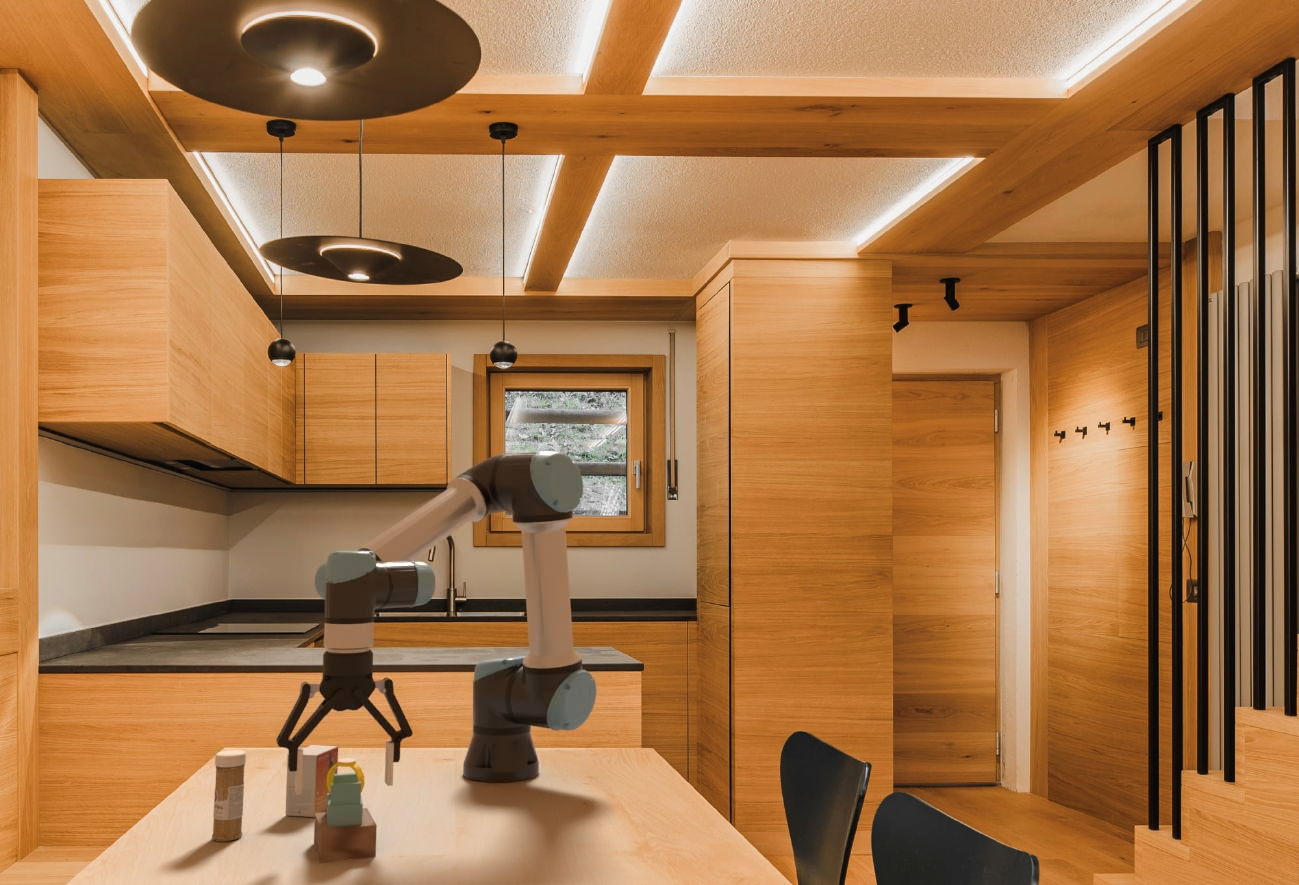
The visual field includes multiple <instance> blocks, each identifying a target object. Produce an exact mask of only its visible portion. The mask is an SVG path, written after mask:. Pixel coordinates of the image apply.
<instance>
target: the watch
mask: <svg viewBox="0 0 1299 885" xmlns="http://www.w3.org/2000/svg"><path fill="white" fill-rule="evenodd" d="M356 762H357V760H356V759H355V758H350V757H349V758H348V757H347V758H345V757H343V758H338V761H337V764H335V765H333V766H332V767H331V769H330V770H329V772H328V775H327V787H328V790H329V792H330V794H331V784H334V783H333V778H334V773H335V771H336V769H337V767H344V768H345V767H346V768H347V767H349V768H351V770H353V771H354V773H356V775H357V777H358V782H361V793H362V792H363V790H364V787H365V775H364V774H365V773H364V771H363V769H362V768H361V766H360V765H359V764H357V763H356ZM337 770H338V769H337Z"/></svg>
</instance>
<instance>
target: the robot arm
mask: <svg viewBox="0 0 1299 885" xmlns="http://www.w3.org/2000/svg"><path fill="white" fill-rule="evenodd" d="M583 494H584V482H583V477H582V474H581V471H580V469H579V467H578V465H577V463H576V462H575V461H573V460H572V458H571V457H570V456H568V455H567V454H566V453H564V452H560V451H548V450H541V451H530V452H514V453H513V452H512V453H511V452H509V453H508V452H507V453H499V454H496V455H493V456H491V457H488V458H486V459H484V460H482V461H481V462H478V463H477V464H475V465H473V466H471V467H470V468H468V469H467V470H465V471H464V472H462V473H460V474H459V475H457V476H456V477H454V478H453V479H452V480H450V481H449V483H448V484H447V486H446V490H445V491H443V492H441V493H440V494H438V495H437V496H436V497H434V498H432V499H431V500H429V501H428V502H426V503H425V504H424V505H423V506H421V507H419V508H418V509H416V510H415V511H413V512H412V513H411V514H409V515H407V516H405V518H402V520H401V521H399V522H397V523H396V524H394V525H393V526H391V527H390V528H388V529H387V530H386V531H384V532H382V533H381V534H380V535H378V536H377V537H375V538H374V539H372V540H371V541H369V542H368V543H366V544H365V545H363V546H362V547H360V548H359V549H357V550H335V551H332V552H331V553H329V554H328V555H327V560H326V561H324V562H323V563H321V564H320V565H319V567H318V568H317V571H316V572H315V576H314V587H315V590H316V592H317V595H318V596H319V597H320V598H322V600H324V634H323V647H324V648H325V649H326V651H325V652H324V653H323V656H322V679H321V681H320V683H309V682H308V681H303V682H301V685H300V689H299V696H298V698H297V700H296V702H295V704H294V706H293V707H292V710H291V711H290V714H288V716H287V719H286V721H285V722H284V725H283V726H282V728H281V729H280V731H279V734H278V735H277V737H276V744H277V746H278V747H280V748H284V749H287V750H288V754H287V759H288V768H289V770H290V772H292V771H295V792H296V795H300V794H302V770H303V749H304V748H303V747H302V746H301V745H302V744H303V743H304V741H306V740H307V738H308V737H309V736H310V735H311V734H312V732H313V731H314V730H315V728H316V727H317V726H318V725H319V724H320V723H321V722H322V721H323V719H324V718H325V717H326V716H327V715H328V714H329V713H330V712H331V711H332V710H333V711H336V712H343V711H347V710H348V711H358V710H359V709H361V708H362V707H364V709H365V710H366V711H367V712H368V713H369V714H370V715H371V716H372V717H373V719H374V720H375V721H376V723H378V725H379V726H380V727H381V728H382V729H383V730H384V731H385V733H386V734H387V735H388V736H389V737H390V739H386V740H385V762H384V763H385V764H384V765H385V766H384V767H385V768H384V783H385V784H386V785H387V786H388V787H389V786H390V787H391V786H394V784H393V783H394V763H399V762H400V760H401V743H402V741H403V740H404V739H406V738H410V737H411V736H413V733H414V732H413V730H412V727H411V725H410V723H409V722H408V720H407V718H406V715H405V713H404V711H403V709H402V707H401V705H400V703H399V701H398V699H397V697H396V694H395V691H394V682H393V680H392V679H390V678H389V677H387V676H386V677H384V678H383V679H380V680H374V678H373V677H374V676H373V671H374V670H373V668H374V667H373V666H374V652H373V651H372V650H371V649H370V648H372V647H374V639H375V638H374V634H375V632H374V628H375V627H374V624H375V610H380V609H393V608H397V609H398V608H414V607H418V606H422V605H426V604H427V603H428V602H430V601H431V599H432V598H433V596H434V595H435V591H436V575H435V572H434V570H433V569H432V567H431V566H430V565H429V564H427V563H426V562H424V561H417V560H418V559H420V557H422V556H424V555H425V554H426V553H427V552H429V551H431V550H432V549H433V548H434V547H436V546H437V545H438V544H440V543H441V542H442V541H444V540H446V538H448V537H450V536H451V535H452V534H454V533H455V532H457V531H458V530H460V528H462V527H463V526H465V525H467V524H468V523H469V522H471V523H473V522H474V523H477V522H480V521H481V520H482V519H483V518H485V517H486V516H488V515H492V514H495V513H502V512H512V513H511V514H512V515H511V516H512V524H513V525H514V526H515V527H517V528H518V529H519V530H520V533H521V542H522V558H523V572H524V573H523V574H524V589H525V590H524V591H525V602H526V604H525V605H526V617H527V635H528V648H529V649H528V650H529V652H528V653H527V655H522V656H521V655H520V656H509V657H508V656H507V657H499V658H493V659H485V660H480V661H479V662H477V664H476V665H475V667H474V674H473V675H474V676H473V681H472V691H473V692H472V736H471V739H470V742H469V746H468V748H467V751H466V753H465V754H466V755H465V757H464V761H463V767H462V775H463V776H464V777H465V778H466V779H470V780H472V781H479V782H486V783H506V782H507V783H508V782H517V781H522V780H523V781H524V780H528V779H532V778H533V777H534V778H535V776H537V775H538V774H539V772H540V770H539V768H540V765H539V764H540V763H539V757H538V754H537V750H536V748H535V745H534V740H533V737H532V734H531V727H537V728H542V729H543V728H544V729H548V730H549V729H550V730H552V731H567V732H569V731H574V730H577V729H579V728H580V727H582V726H583V725H584V723H585V722H586V721H587V720H588V719H589V716H590V715H591V713H592V712H593V709H594V706H595V703H596V700H597V684H596V679H595V678H594V677H593V675H592V674H591V672H589V671H587V670H586V669H583V658H582V655H581V654H580V653H579V652H578V651H576V650H575V649H574V638H573V636H574V635H573V625H572V624H573V622H572V620H573V619H572V607H571V606H572V604H571V595H570V594H571V593H570V590H571V589H570V579H569V578H570V577H569V575H570V574H569V562H568V560H569V559H568V548H567V545H568V544H567V534H566V533H567V532H566V528H567V526H568V525H569V524H570V523H571V521H573V511H574V510H575V509H576V508H577V507H578V506H579V505H580V503H581V498H583ZM376 689H378V691H379V692H380V693H381V694H383V695H384V697H385V699H386V701H387V703H388V706H389V708H390V710H391V712H392V714H393V715H394V718H395V720H396V722H397V723H398V727H399V728H400V729H399V730H396V728H395V727H394V726H393V725H392V724H391V723H390V721H388V720H387V718H386V717H385V715H383V714H382V713H381V712H380V710H379V709H378V708H377V707H376V705H374V704H373V702H372V701H371V700H370V699H369V698H371V695H372V694H373V693H374V691H375V690H376ZM316 693H320V695H321V696H322V697H323V701H321V703H320V704H319V705H318V707H317V708H316V710H315V711H314V712H313V713H312V714H311V715H310V716H309V718H307V720H306V721H305V722H304V724H302V726H301V727H300V728H299V729H298V730H297V732H296V733H295V734H294V735H293V737H292V738H291V735H292V733H293V731H294V730H295V729H296V728H295V727H296V726H297V724H298V722H299V720H300V718H301V716H302V715H303V713H304V711H305V708H306V707H307V704H308V703H309V700H310V699H312V698H314V697H315V694H316Z"/></svg>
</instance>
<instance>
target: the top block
mask: <svg viewBox="0 0 1299 885" xmlns="http://www.w3.org/2000/svg"><path fill="white" fill-rule="evenodd" d="M333 783H334V784H331V794H330V792H329V793H327V810H326V812H327V824H328V827H336V826H347V825H359V824H362V813H363V808H364V807H363V798H362V792H361V782H358V777H357V775H356V773H355V772H349V773H348V772H347V773H337V774H334V778H333Z"/></svg>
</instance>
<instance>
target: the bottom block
mask: <svg viewBox="0 0 1299 885" xmlns="http://www.w3.org/2000/svg"><path fill="white" fill-rule="evenodd" d="M313 834H314V835H313V845H314V849H315V851H316V854H317V857H318V860H319V863H320V864H326V863H333V862H343V861H352V860H359V859H366V858H367V859H368V858H375V857H376V856H377V854H376V853H377V823H376V821H375V819H374V818H373V816H372V814H371V813H370V811H369V809H368V807H363V813H362V824H359V825H347V826H336V827H328V824H327V811H324V812H322V813H315V817H314V829H313Z"/></svg>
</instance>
